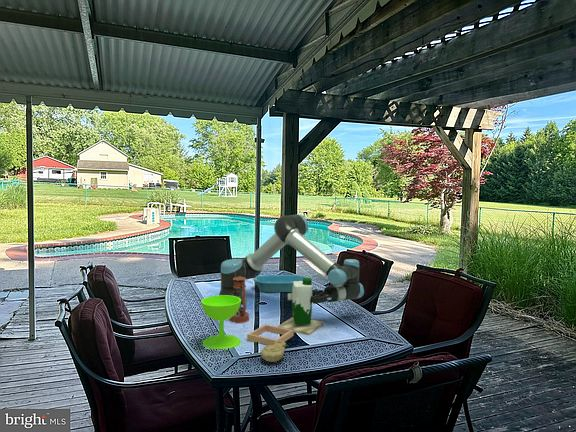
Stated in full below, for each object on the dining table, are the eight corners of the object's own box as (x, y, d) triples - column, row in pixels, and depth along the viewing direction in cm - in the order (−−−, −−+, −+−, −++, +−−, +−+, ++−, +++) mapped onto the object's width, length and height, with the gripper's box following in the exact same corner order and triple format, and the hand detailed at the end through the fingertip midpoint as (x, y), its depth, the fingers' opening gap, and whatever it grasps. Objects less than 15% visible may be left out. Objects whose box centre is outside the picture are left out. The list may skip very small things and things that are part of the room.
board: (277, 328, 179) (277, 326, 178) (293, 318, 193) (293, 316, 193) (309, 335, 171) (309, 332, 171) (324, 324, 185) (324, 321, 185)
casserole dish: (307, 284, 263) (307, 273, 263) (313, 293, 241) (314, 281, 241) (252, 285, 258) (252, 274, 258) (253, 294, 236) (253, 283, 236)
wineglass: (206, 354, 150) (205, 308, 149) (198, 339, 165) (197, 297, 164) (246, 347, 157) (246, 303, 156) (235, 334, 171) (235, 293, 170)
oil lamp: (284, 349, 156) (284, 336, 156) (291, 365, 142) (291, 351, 142) (257, 350, 154) (257, 338, 154) (262, 367, 140) (262, 353, 140)
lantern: (252, 317, 193) (253, 257, 191) (243, 324, 183) (243, 261, 181) (234, 315, 196) (234, 256, 194) (225, 322, 187) (225, 259, 185)
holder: (247, 340, 165) (247, 334, 164) (265, 329, 177) (265, 324, 177) (276, 347, 158) (276, 341, 158) (293, 335, 170) (293, 330, 170)
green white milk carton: (312, 324, 177) (313, 282, 175) (292, 325, 177) (293, 282, 174) (309, 317, 186) (310, 276, 183) (290, 317, 185) (291, 276, 182)
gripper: (346, 306, 180) (302, 313, 170) (323, 296, 198) (282, 301, 188) (346, 290, 180) (302, 296, 169) (323, 281, 198) (282, 286, 187)
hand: (292, 299), depth 179 cm, fingers closed on green white milk carton, 7 cm apart
